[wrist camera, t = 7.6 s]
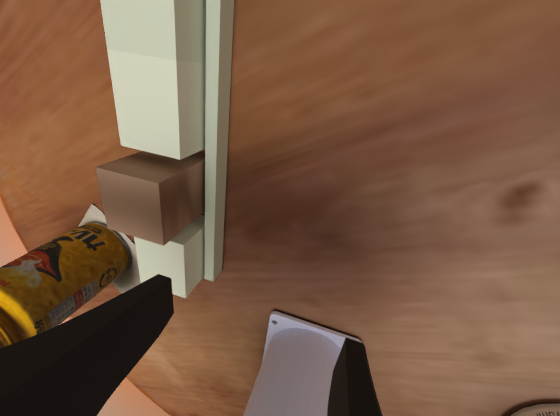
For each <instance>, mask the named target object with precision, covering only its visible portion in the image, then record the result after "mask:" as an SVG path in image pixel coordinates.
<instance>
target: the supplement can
mask: <svg viewBox="0 0 560 416" xmlns="http://www.w3.org/2000/svg"><path fill="white" fill-rule="evenodd" d="M511 416H560V403H559V404H538V405H534V406H530V407H525V408H522V409H520V410H519V411H517V412H515V413H513V414H512V415H511Z"/></svg>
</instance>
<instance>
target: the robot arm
mask: <svg viewBox="0 0 560 416" xmlns="http://www.w3.org/2000/svg"><path fill="white" fill-rule="evenodd" d="M173 313H174V309H173V295H172V280H171V278H169V277H166V276H163V275H160V274H158V275H156V276H154V277H152V278H150V279H148V280H146V281H144V282H143V283H141V284H139V285H137V286H135V287H133V288H132V289H130V290H128V291H126V292H124V293H122V294H121V295H119V296H117V297H115V298H113V299H111V300H109V301H107V302H105V303H103V304H102V305H100V306H98V307H96V308H94V309H92V310H89V311H87V312H85V313H83V314H81V315H79V316H77V317H75V318H73V319H71V320H69V321H67V322H65V323H62V324H60V325H58V326H56V327H53V328H51V329H49V330H46V331H44V332H42V333H39V334H37V335H34V336H32V337H30V338H27V339H24V340H22V341H19V342H16V343H14V344H11V345H8V346H6V347H3V348H0V416H97V414H98V413H99V411H100V410H101V409H102V407H103V406H104V404H105V403H106V401H107V400H108V399H109V397H110V396H111V395H112V393H113V392H114V391H115V390H116V388H117V387H118V386H119V385H120V383H121V382H122V381H123V380H124V378H125V377H126V376H127V375H128V374H129V372H130V371H131V370H132V369H133V367H134V366H135V365H136V364H137V363H138V361H139V360H140V359H141V358H142V356H143V355H144V354H145V353H146V352H147V350H148V349H149V348H150V347H151V345H152V344H153V343H154V342H155V340H156V339H157V338H158V337H159V335H160V334H161V332H162V331H163V329H164V328H165V326H166V325H167V323H168V321H169V320H170V318H171V317H172V315H173ZM243 416H382V413H381V409H380V406H379V403H378V399H377V396H376V392H375V389H374V385H373V381H372V377H371V373H370V369H369V364H368V360H367V355H366V349H365V346H364V344H363V343H362V342H361V341H360V340H359V339H357V338H354V337H351V336H348V335H345V334H342V333H339V332H336V331H333V330H330V329H328V328H325V327H322V326H319V325H316V324H313V323H310V322H307V321H304V320H301V319H298V318H295V317H292V316H289V315H286V314H283V313H280V312H277V311H273V312H272V313H271V315H270V319H269V325H268V330H267V336H266V342H265V348H264V354H263V360H262V365H261V368H260V370H259V373H258V376H257V378H256V381H255V384H254V387H253V389H252V392H251V395H250V397H249V400H248V403H247V406H246V408H245V411H244V414H243Z"/></svg>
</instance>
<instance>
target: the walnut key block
mask: <svg viewBox="0 0 560 416" xmlns="http://www.w3.org/2000/svg"><path fill="white" fill-rule="evenodd" d="M95 168H96V173H97V178H98V184H99V189H100V194H101V199H102V204H103V209H104V214H105V219H106V224H107V228H108V229H111V230H114V231H118V232H121V233H124V234H127V235H131V236H134V237H137V238H140V239H143V240H147V241H150V242H153V243H156V244H160V245H163V246H164V245H165V244H167V243H168V242H169V241H170V240H171V239H173V238H174V237H175V236H176V235H177V234H179V233H180V232H181V231H182V230H183V229H185V228H186V227H187V226H188V225H189V224H191V223H192V222H193V221H194V220H195V219H197V218H198V217H199V216H200V215H201V214H203V213H204V212H205V152H200V151H199V152H197V153H194V154H192V155H190V156H188V157H185V158H183V159H181V160H179V159H175V158H171V157H166V156H162V155H158V154H154V153H150V152H146V151H142V152H139V153H136V154H133V155H130V156H127V157H124V158H121V159H118V160H115V161H112V162H109V163H106V164H103V165H100V166H97V167H95Z"/></svg>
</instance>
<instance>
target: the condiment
mask: <svg viewBox="0 0 560 416" xmlns="http://www.w3.org/2000/svg"><path fill="white" fill-rule="evenodd" d="M133 258H134V259H135V260H133ZM135 262H136V263H137V264H135ZM110 283H112V284H113V285H114V286H115V287H116V288H117V289H118V290H119V291H120V293H124V292H126V291H128V290H130V289H132V288H133V287H135V286H137V285H139V284H141V282H140V275H139V268H138V261H137V254H136V247H135V244H134V243H133V242H132V241H131V240H130V239H129V238H128V237H127V236H126V235H125V234H124V233H121V232H118V231H114V230H111V229H108V228H107V224H106V219H105V215H104V214H103V213H102V212H101V211H100V210H99V209H98V208H97V207H95V206H94V205H92V204H91V206H90V208H89V209H88V211H87V213H86V215H85V216H84V218H83V219H82V221H81V223H80V224H79V226H78V227H77V228H75V229H73V230H71V231H69V232H68V233H65V234H63V235H61V236H59V237H57V238H55V239H53V240H52V241H50V242H48V243H46V244H44V245H42V246H40V247H38V248H36V249H34V250H32V251H30V252H28V253H27V254H25V255H23V256H21V257H20V258H18V259H16V260H14V261H12V262H10V263H8V264H6V265H4V266H2V267H0V348H3V347H6V346H8V345H11V344H14V343H16V342H19V341H22V340H24V339H27V338H30V337H32V336H34V335H37V334H39V333H42V332H44V331H46V330H49V329H51V328H53V327H56V326H58V325H59V324H61V323H62V322H63V321H64V320H65V319H67V318H68V317H69V316H70V315H72V314H73V313H74V312H75V311H76V310H78V309H79V308H80V307H81V306H83V305H84V304H85V303H87V302H88V301H89V300H90V299H92V298H93V297H95V296H96V295H97V294H98V293H99V292H100V291H102V290H103V289H104V288H105V287H106V286H108V285H109V284H110Z"/></svg>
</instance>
